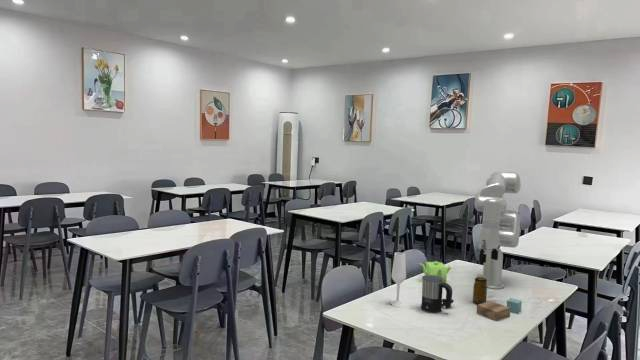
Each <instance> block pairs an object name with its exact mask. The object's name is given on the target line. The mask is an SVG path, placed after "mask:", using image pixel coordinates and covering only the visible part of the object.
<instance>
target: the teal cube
mask: <svg viewBox="0 0 640 360" xmlns="http://www.w3.org/2000/svg"><path fill="white" fill-rule="evenodd" d="M522 303H523V302H522V300H521V299H517V298H511V297H510V298H509V299H507V300H506V307H509V308H510V313H512V314H516V315H518V314H520V313H521V312H522Z"/></svg>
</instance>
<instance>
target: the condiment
mask: <svg viewBox="0 0 640 360" xmlns="http://www.w3.org/2000/svg"><path fill="white" fill-rule="evenodd" d="M487 292H488V288H487V280H486V279H485V278H482V277H477V276H476V277H475V278H474V283H473V290H472V293H473V294H472V300H468V302H469V303H471V304H473V305H476V306H477V305H478V304H482V303H485V302H487Z"/></svg>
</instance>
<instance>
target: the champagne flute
mask: <svg viewBox="0 0 640 360" xmlns="http://www.w3.org/2000/svg"><path fill="white" fill-rule="evenodd" d="M406 265H407V264H406V253H404V252H398V251H397V252H394V256H393V263H392V271H391V279H392V280H393V282H394V283H396V297H395V300H393V301H391V302H390V303H391V304H392V305H391V304H390V305H391V306H393V307H397V306H402V307H404V306H405V305H404V304H405V303H403V301H401V300H400V287H401V285H400V284H402V283H403V282H405V280H406V278H407V270H406V269H407V266H406Z"/></svg>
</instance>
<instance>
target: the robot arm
mask: <svg viewBox="0 0 640 360" xmlns="http://www.w3.org/2000/svg"><path fill="white" fill-rule="evenodd" d="M485 184H486V185H485V186H484V187H482V188H481V189H479V190H478V191H477V193H476V196H475V198H474V199H475V200H474V208H475V210H476V211H478V212H481V213H482V227H481V230H480V235H479V240H478V241H479V242H478V244H477V247H478V248H477V249H478V254H479V256H478V257H479V258H478V259H479V260H478V261H479V263H483V264H482V265H483V266H482V274H481V273H477V275H476V277H482V278H485V279H486V280H487V289H494V290H496V289H498V290H500V289H503V288H505V284H504V283H503V282H502V276H503V275H502V274H503V261H504V254H503V252H502V249H501V247H503V248H517V247H518V245H519V243H520V230H521V217H520V216H521V215H520V212H518V211H517V210H510V209H507V205H508V203H507V200H506V199H505V198H504V197H503V196H504V195H505V194H518V193H519V192H520V191H521V178H520V175H519V174H518V173H517V172H512V171H511V172H510V171H495V172H492V174H491V175H490V177H489V178H487V179H486V183H485Z"/></svg>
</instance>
